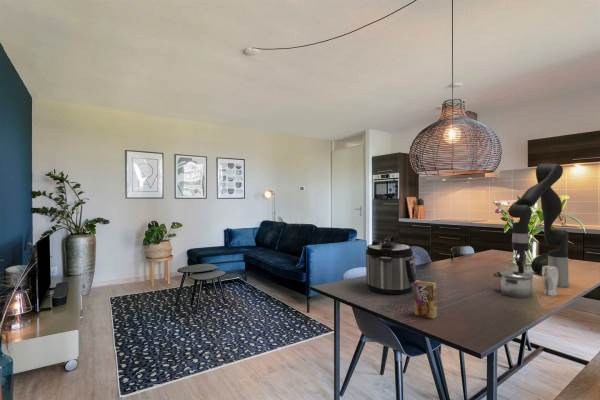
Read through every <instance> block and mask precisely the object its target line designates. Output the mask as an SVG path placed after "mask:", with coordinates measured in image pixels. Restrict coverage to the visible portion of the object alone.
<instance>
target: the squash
mask: <svg viewBox="0 0 600 400" xmlns="http://www.w3.org/2000/svg"><path fill="white" fill-rule="evenodd" d="M530 266H531V269H532V271H533V272H534V273H535V274H538V275H541V276H542V266H548V253H543V254H540V255H538V256H536V257H535V258H534V259H533V260H532V261H531V265H530Z"/></svg>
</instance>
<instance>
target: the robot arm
mask: <svg viewBox="0 0 600 400" xmlns="http://www.w3.org/2000/svg"><path fill="white" fill-rule="evenodd" d="M563 173H564V168H563V166H562V165H561V164H558V163H539V164H538V165H537V166H536V168H535V178H536V182H537V183H536V184H535V185H532V186H531V187H529V188H528V189H526V191H525V192H524V194H523V195H521V197H520V198H519V199H517V200H516V201H514V203H512V204H511V205H510V206H509V208H508V215H509V217H511V218H516V219H519V220H518V221H515V222H513V223H512V227H511V228H512V232H511V233H512V237H511V245H512V246H511V249H512V250H513V251H516V253H515V257H514V259H515V263H516V266H517V268H518V269H517V271H518V273H521V274H523V273H524V272H525V271H524V269H525V265H526V262H527V261H526V260H527V254H526V252H528V251H530V237H529V236H530V235H529V225H530V221H531V218H532V215H533V211H532V207H533V206H535V205H536V204H537V202H538V200H539V199H540V205H541V206H540V207H541V212H542V219H543V232H544V233H543V235H544V241H545V243H546V244H547V245H552V246H560V247H559V248H557V249H551V250H549V251H548V252H547V254H548V266H554V267H557V268H558V283H557V287H561V288H565V287H566V288H568V287H569V286H570V284H569V283H570V282H569V279H570V278H569V277H570V276H569V233H568V231H567V230H565V229H552V225H553V224H554V222H555V221H556V219H557V218H559V216H560V215H561V213H562V211H563V206H562V199H561V198H560V196H559V195H558V193H556V191H554V189H553V188H552V186H553V185H555V183H557V182H558V181H559V180H560V179H561V178H562V176H563Z"/></svg>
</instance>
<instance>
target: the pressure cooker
mask: <svg viewBox="0 0 600 400" xmlns="http://www.w3.org/2000/svg"><path fill="white" fill-rule="evenodd" d="M413 254H414V252H413V250H412V246H410V245H407V244H401V243H396V240H395V238H394V236H392V235H386V236H385V237H384V239H383V242H380V241H378V240H377V239H376V240H373V241H372V242H371V244H368V245H367V246H366V249H365V271H366V273H365V276H366V277H365V278H366V279H365V280H366V281H365V282H366V286H367V288H368V289H369V290H371V291H373V292H376V293H380V294H387V295H399V294H406V293H409V292H410V291H411V290H412V289H413V288H414V282H415V281H416V280H417V275H416V261H415V256H414V255H413Z"/></svg>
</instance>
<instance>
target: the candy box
mask: <svg viewBox="0 0 600 400" xmlns="http://www.w3.org/2000/svg"><path fill="white" fill-rule="evenodd" d="M413 288H414V289H413V290H414V292H413V293H414V315H416V316H420V317H425V318H430V319H435V318H437V317H438V304H437V303H438V302H437V301H438V300H437V283H436V282H432V281H431V282H430V281H427V280H418V279H416V280H415V282H413Z"/></svg>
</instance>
